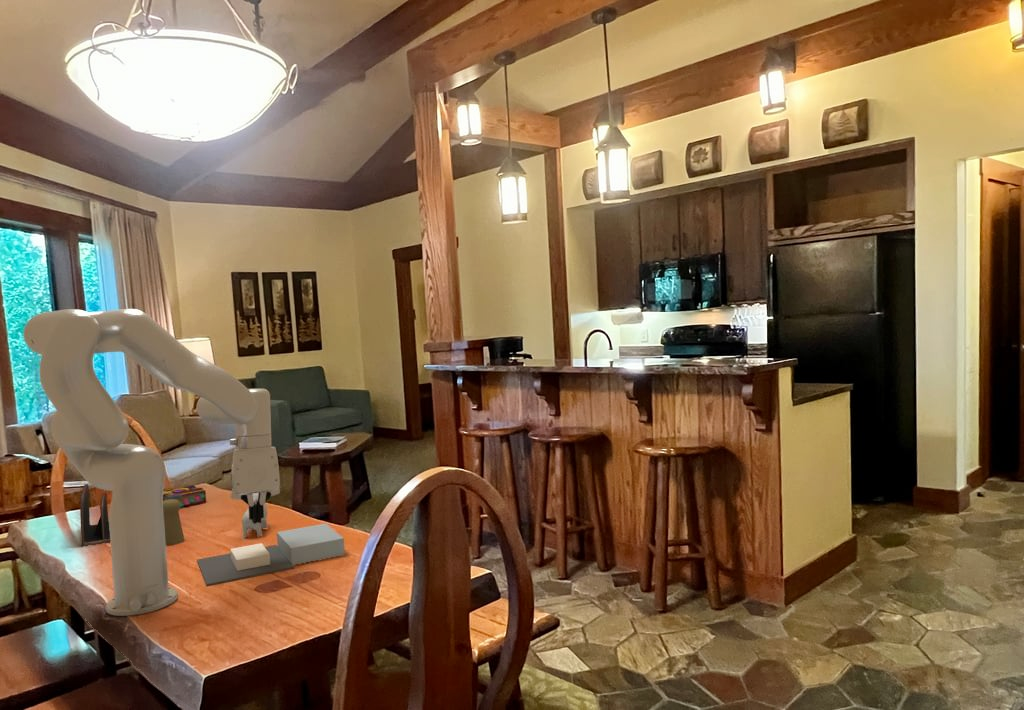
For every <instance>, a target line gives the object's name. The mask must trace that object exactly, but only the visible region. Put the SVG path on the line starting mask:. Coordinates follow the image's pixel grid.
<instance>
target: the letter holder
mask: <svg viewBox="0 0 1024 710" xmlns="http://www.w3.org/2000/svg"><path fill="white" fill-rule="evenodd" d="M89 489H90V485H89V484H88V483H87V484H86V483H85V484H84V486H83V487H82V490H81V492H80V493H81V494H80V497H79V506H80V507H79V512H80V513H79V514H80V515H79V516H80V537H81V538H80V539H81V547H82V546H86V547H89V546H88V545H92V546H97V545H96V544H99V545H103V544H102V543H105V544H109V542H110V530H109V511H108V510H109V509H108V496H107V495H108V494H107V493H108V492H107V491H104V492H103V493H102V495H101V499H100V504H99V505H100V506H99V510H100V516H99V519H98V521H97V524H91V522H90V521H91V519H90V514H91V513H90V490H89Z"/></svg>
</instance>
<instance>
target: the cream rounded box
mask: <svg viewBox="0 0 1024 710" xmlns="http://www.w3.org/2000/svg"><path fill="white" fill-rule="evenodd" d="M265 547H266V546H265V545H264V544H263V543H262V542H260V543H254V544H249V545H244V546H239V547H234V548H230V553H231V560H232V562H233V564H234V565H235V567H236V569H237V571H239V570H244V569H249V568H254V567H259V566H264V565H269V564H270V554H269V552H268V551H267V550H266V548H265Z"/></svg>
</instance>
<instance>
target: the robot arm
mask: <svg viewBox="0 0 1024 710" xmlns="http://www.w3.org/2000/svg"><path fill="white" fill-rule="evenodd" d="M23 339H24V342H25V344H26V345H27V347H28V348H29V349H30V350H31V351H33V352H35V354H37V355H41V357H40V364H39V380H40V385H41V387H42V389H43V391H44V394H45V395H46V397H47V398H48V399H49V401H50V403H51V404H52V405H53V407H54V408H55V410H56V411H55V413H54V415H53V416H52V419H51V424H50V430H51V434H52V437H53V440H54V441H55V443H56V444H57V446H58V447H59V448H60V450H61V451H62V452H63V454H64V455H65V457H66V458H67V459H68V460H69V462H70V463H71V465H73V466H74V468H75V469H76V471H78V473H79V474H80V475H81V476H82V477H83V478H84V480H86V482H87V483H89V484H90V485H91V486H93V488H96V489H99V490H102V491H103V490H104V491H106V492H112V495H111V500H110V501H111V502H110V504H109V505H110V506H109V509H108V510H109V511H108V520H109V530H110V542H111V543H110V552H111V554H110V555H111V567H112V568H111V569H112V581H113V595H114V597H113V598H112V599H110V600H109V601H107V603H106V604H105V611H106V613H107V614H109V615H111V616H115V617H118V616H119V617H125V616H127V617H129V615H130V616H135V615H136V616H138V615H142V614H148V613H150V612H154V611H157V610H160V609H163V608H165V607H167V606H169V605H171V604H172V603H174V602H176V600H177V599H178V597H179V595H178V590H177V589H176V588H174V587H171V586H169V574H168V572H169V571H168V559H167V546H166V542H165V528H164V515H163V490H164V489H165V482H166V481H165V480H166V465H165V464H166V463H165V461H164V460H163V457H162V456H161V454H160V453H158V451H156V450H155V449H153V448H152V447H148V446H146V445H141V444H131V443H124V442H125V441H126V439H127V438H128V435H129V432H130V427H129V421H128V419H127V417H126V415H125V414H124V412H123V411H122V410H121V408H120V407H119V406H118V405H117V403H116V402H115V401H114V399H113V398H112V396H111V395H110V394H109V392H108V391H107V390H106V388H105V386H104V385H103V384H102V382H101V381H100V379H99V378H98V376H97V374H96V371H95V369H94V355H95V354H104V353H117V352H119V353H120V352H121V353H122V354H125V355H126V356H127V357H128V358H129V359H131V360H132V361H134V362H135V363H136V364H137V365H138V366H140V367H141V368H142V369H143V370H145V371H146V372H147V373H149V375H151V376H152V377H153V378H155V380H157V381H158V382H160V383H161V384H163V385H165V386H168V387H170V388H173V389H176V390H179V391H184V392H188V393H191V394H194V395H195V396H198V397H199V399H198V401H197V403H196V412H197V414H198V417H200V418H201V419H202V420H203V421H205V422H207V423H210V424H218V425H235V432H236V435H235V437H234V438H231V439H229V446H235V447H236V448H235V449H233V453H232V459H231V460H232V461H231V471H230V473H231V474H230V476H231V477H230V479H231V481H230V483H231V494H230V498H231V499H232V500H238V501H243V502H244V503H246V504H247V505H248V507H249V519H250V520H252V522H253V523H254V524H256V523H257V522H258V523H261V518H264V507H263V505H264V504H265V505H266V503H267V501H269V500H270V498H271V497H274V496H276V495H279V494H280V493H281V488H280V486H281V484H280V483H281V480H280V477H281V476H280V468H279V458H278V454H277V453H278V452H277V449H276V446H272V425H271V424H272V422H271V421H272V419H271V417H272V415H271V414H272V412H271V394H270V392H269V390H267V389H266V388H248V387H246V385H244V384H243V383H242V382H241V381H239V380H238V379H237V378H236V377H235V376H234V375H233V374H231V373H230V372H228V371H226V370H225V369H224V368H221V367H220V366H218V365H216V364H214V363H212V362H210V361H208V360H207V359H205V358H203V357H201V356H200V355H197V354H195V353H194V352H192V351H191V350H189V349H188V348H187V347H186V346H185V345H183V344H182V342H180V341H179V340H177V339H176V337H174V336H173V335H172V334H171V333H170V332H169V331H167V329H165V328H164V327H163V326H162V325H161V324H159V323H158V321H156V320H155V319H154V318H152V317H151V316H150V315H149V314H147V313H146V312H144V311H142V310H140V309H137V308H122V309H112V310H105V311H104V310H102V311H86V310H83V309H77V308H76V309H75V308H74V309H72V308H67V309H58V310H52V311H45V312H41V313H38V314H35V315H33V316H32V317H31V318H29V320H27V322H26V323H25V326H24V329H23ZM252 493H259V494H258V501H257V503H256V504H255V502H254V499H253V494H252Z"/></svg>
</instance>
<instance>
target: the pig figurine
mask: <svg viewBox="0 0 1024 710" xmlns="http://www.w3.org/2000/svg"><path fill="white" fill-rule="evenodd" d="M252 494H253V499H254V502H255V504H256V503H257V501H258V494H259V493H252ZM263 507H264V518H261V523H258V522H257V523H256V524H254V523H253V522H252V520H250V519H249V506H248V508H247V509H246V511H245V512H244V513H243V515H242V517H241V526H242V528H241V529H242V538H243V539H247V538H246V537H248V532H252V531H251V530H254V531H255V530H256V537H257V536H261V535H262V536H263V533H262V529H263V528H268V529H269V527H268V523H267V518H268V509H267V506H266V503H265V504H264V505H263Z"/></svg>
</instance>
